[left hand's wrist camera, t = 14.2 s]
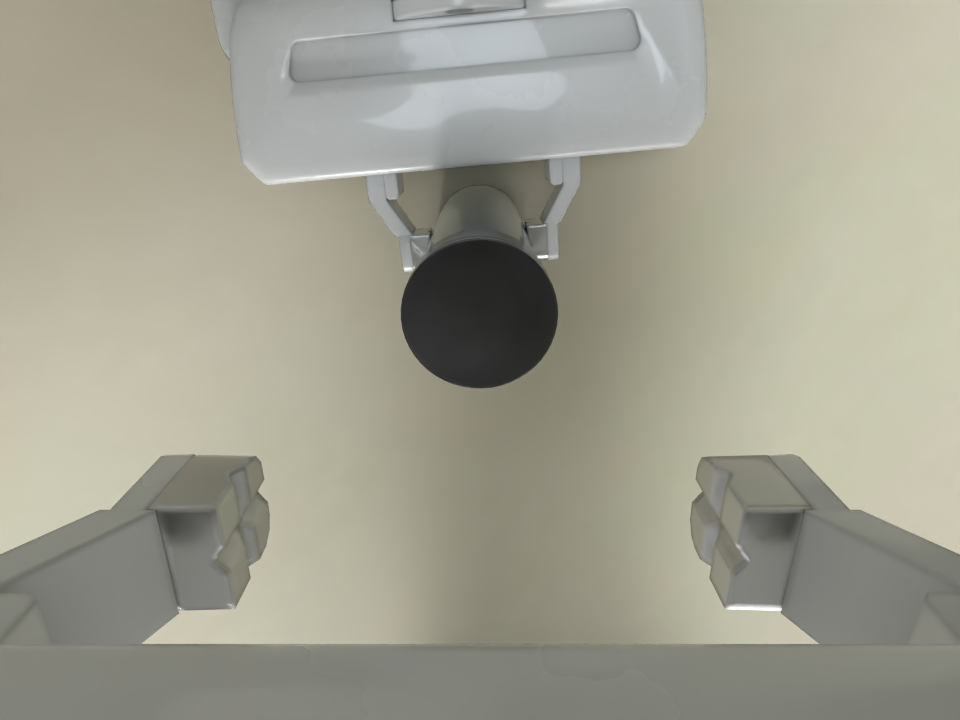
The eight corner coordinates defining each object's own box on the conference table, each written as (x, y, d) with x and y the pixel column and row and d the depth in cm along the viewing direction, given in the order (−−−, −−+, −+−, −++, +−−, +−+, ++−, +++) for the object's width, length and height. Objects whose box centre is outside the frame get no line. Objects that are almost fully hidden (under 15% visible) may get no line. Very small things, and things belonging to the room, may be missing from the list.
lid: (376, 292, 20) (367, 306, 19) (490, 196, 19) (491, 203, 18) (469, 394, 22) (469, 416, 20) (581, 311, 21) (589, 327, 19)
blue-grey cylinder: (421, 221, 34) (376, 303, 19) (485, 167, 33) (490, 209, 18) (473, 283, 35) (469, 404, 21) (537, 233, 34) (580, 322, 20)
